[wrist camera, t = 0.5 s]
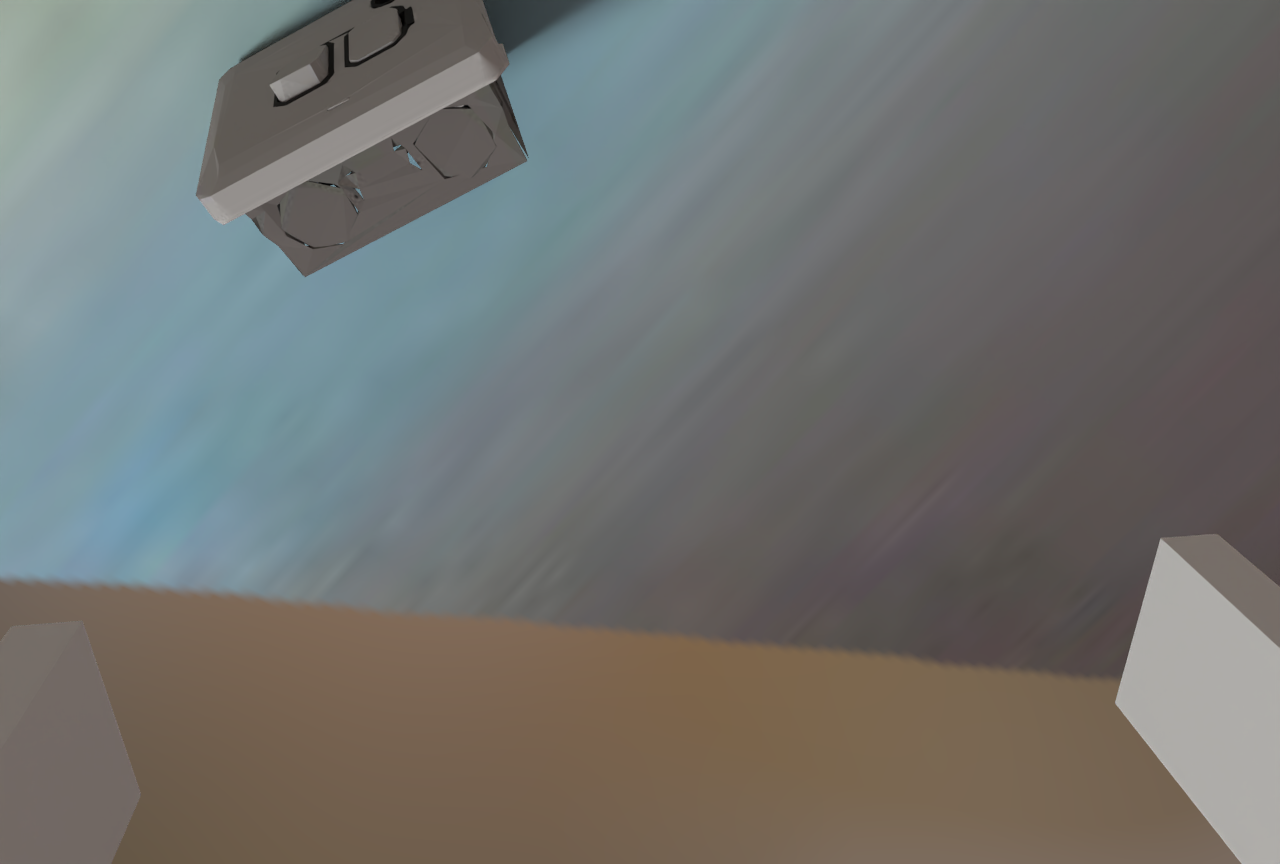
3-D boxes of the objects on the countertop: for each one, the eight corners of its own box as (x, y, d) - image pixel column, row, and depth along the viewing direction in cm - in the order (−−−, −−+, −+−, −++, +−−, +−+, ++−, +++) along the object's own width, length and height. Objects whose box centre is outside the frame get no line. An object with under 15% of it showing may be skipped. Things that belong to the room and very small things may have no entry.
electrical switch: (462, -63, 32) (462, -25, 24) (537, 83, 35) (558, 159, 27) (220, 71, 33) (145, 149, 25) (311, 202, 36) (269, 309, 28)
